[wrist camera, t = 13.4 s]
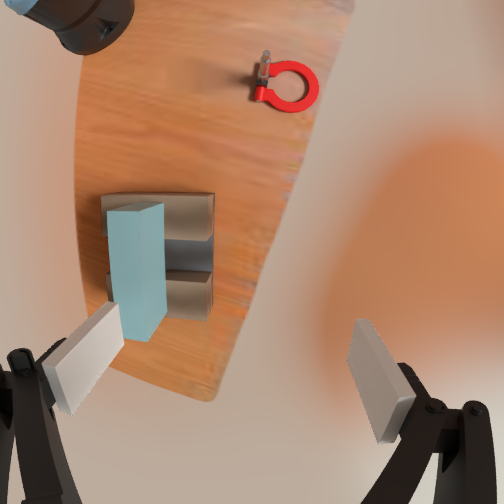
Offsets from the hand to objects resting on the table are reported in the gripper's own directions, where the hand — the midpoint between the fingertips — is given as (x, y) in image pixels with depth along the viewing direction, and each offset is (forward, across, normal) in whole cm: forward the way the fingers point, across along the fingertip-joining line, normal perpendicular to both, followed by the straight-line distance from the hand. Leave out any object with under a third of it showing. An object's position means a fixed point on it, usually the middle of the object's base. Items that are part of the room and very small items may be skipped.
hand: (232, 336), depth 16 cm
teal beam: (+26, -14, -4) cm, 30 cm away
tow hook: (+32, +4, +22) cm, 39 cm away
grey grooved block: (+32, -14, -4) cm, 35 cm away
